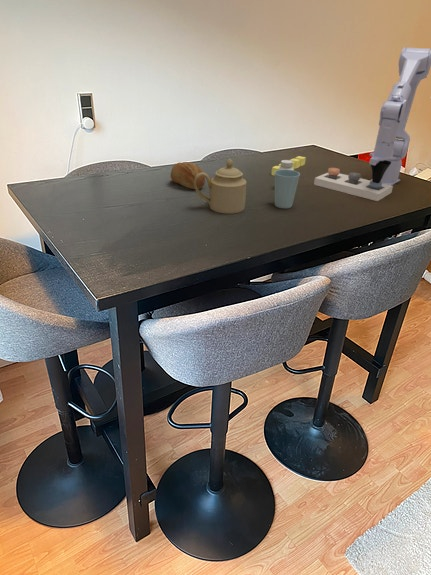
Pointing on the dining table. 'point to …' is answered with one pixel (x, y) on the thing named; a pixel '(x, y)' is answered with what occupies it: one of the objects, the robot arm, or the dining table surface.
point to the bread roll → (187, 175)
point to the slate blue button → (375, 185)
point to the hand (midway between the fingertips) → (376, 182)
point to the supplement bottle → (286, 165)
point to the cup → (285, 187)
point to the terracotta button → (333, 173)
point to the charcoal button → (354, 177)
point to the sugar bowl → (225, 190)
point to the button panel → (353, 186)
